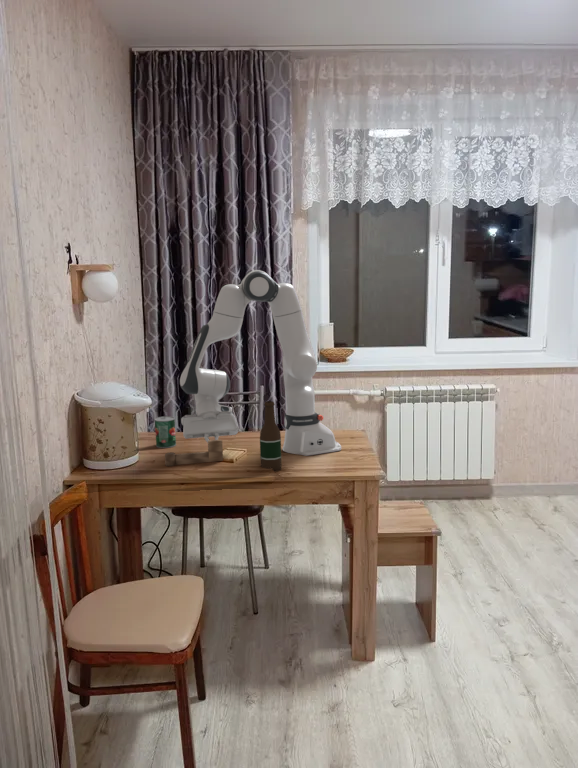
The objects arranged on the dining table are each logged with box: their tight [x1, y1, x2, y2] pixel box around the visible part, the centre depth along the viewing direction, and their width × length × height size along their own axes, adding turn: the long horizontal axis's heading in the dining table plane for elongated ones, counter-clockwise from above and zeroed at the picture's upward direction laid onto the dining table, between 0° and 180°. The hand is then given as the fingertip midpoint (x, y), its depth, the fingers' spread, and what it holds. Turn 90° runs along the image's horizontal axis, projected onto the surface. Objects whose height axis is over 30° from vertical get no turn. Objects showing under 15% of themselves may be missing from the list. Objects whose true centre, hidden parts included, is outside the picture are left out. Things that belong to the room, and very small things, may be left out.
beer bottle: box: [259, 400, 282, 473], centre depth 236 cm, size 8×8×24 cm
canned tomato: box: [154, 415, 177, 449], centre depth 271 cm, size 8×8×11 cm
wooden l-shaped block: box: [164, 439, 224, 467], centre depth 245 cm, size 20×9×8 cm, turn 103°
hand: (212, 445), depth 248 cm, fingers closed
